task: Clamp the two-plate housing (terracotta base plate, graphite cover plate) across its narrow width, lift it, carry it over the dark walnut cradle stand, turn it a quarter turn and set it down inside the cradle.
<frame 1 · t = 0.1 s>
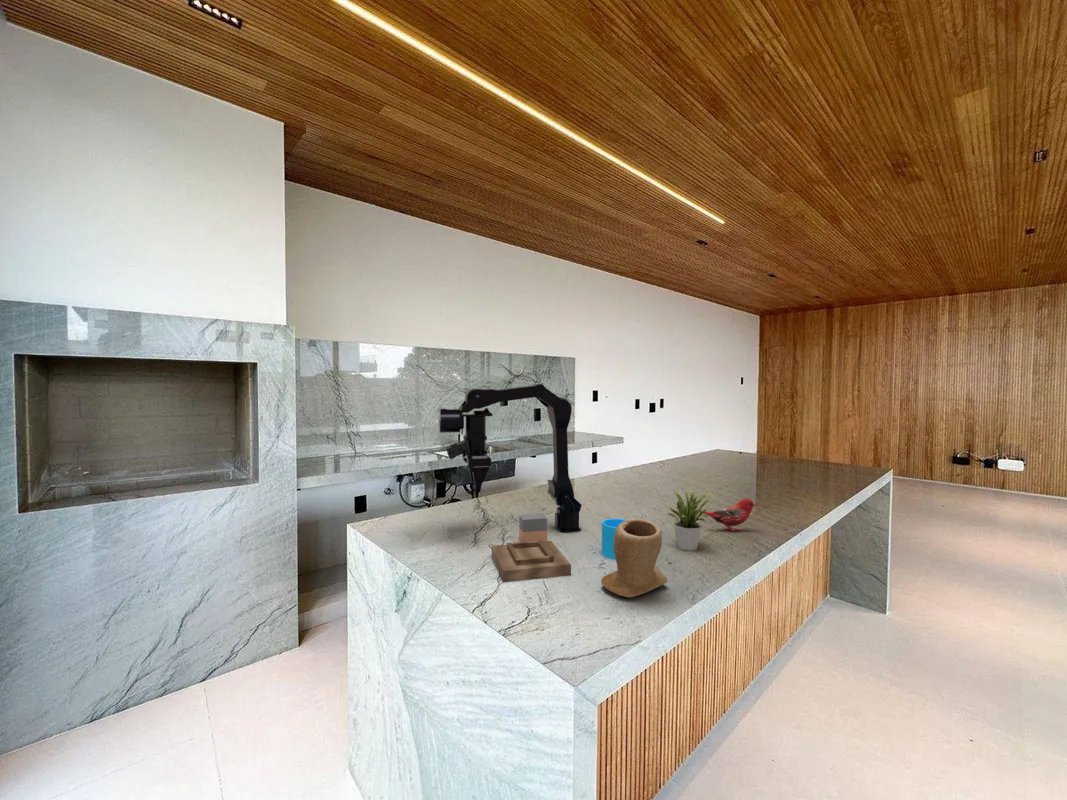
hand: (475, 485, 133), 15 cm above the table, fingers open, 9 cm apart
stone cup: (637, 589, 101), on the table
house plant: (692, 548, 126), on the table
decorative bird figurine: (725, 531, 140), on the table
walnut cradle stand: (529, 564, 113), on the table
housing: (532, 541, 130), on the table
mug: (623, 553, 122), on the table
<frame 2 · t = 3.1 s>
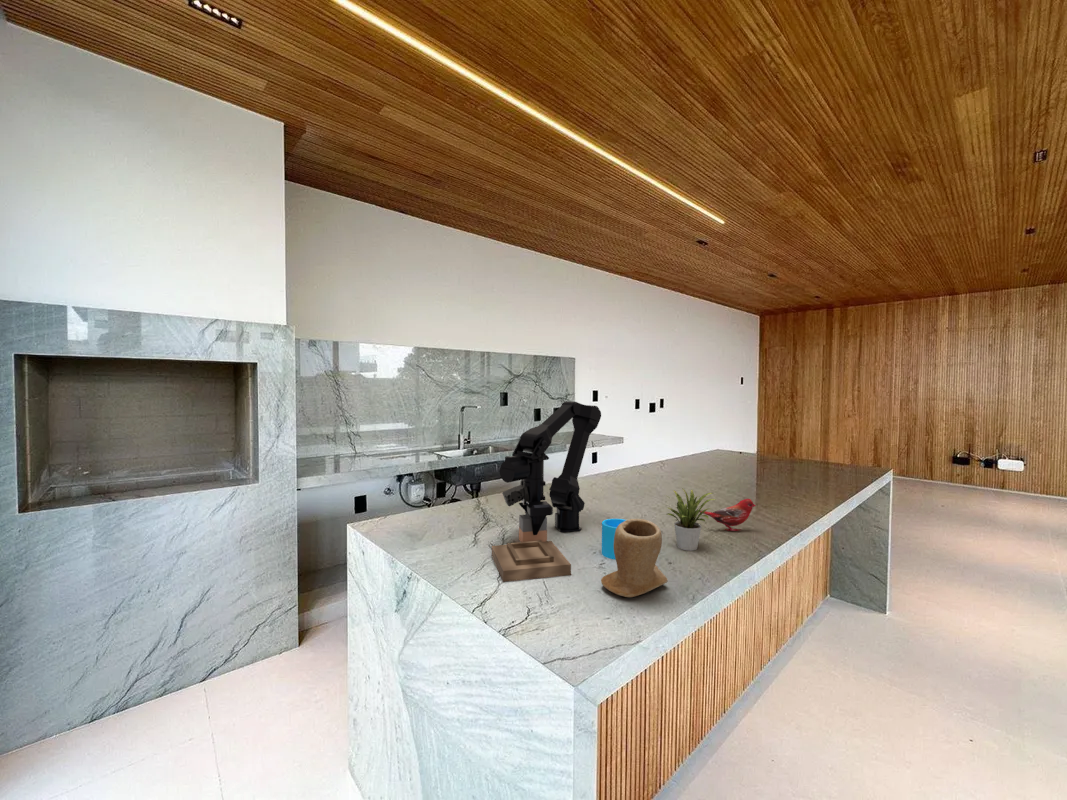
hand: (532, 532, 130), 3 cm above the table, fingers closed on housing, 4 cm apart
housing: (532, 540, 130), on the table, touching gripper
everything else where it was.
when the fingers open (6 cm above the table, at t = 8.0 s): housing drops 1 cm, resting on walnut cradle stand.
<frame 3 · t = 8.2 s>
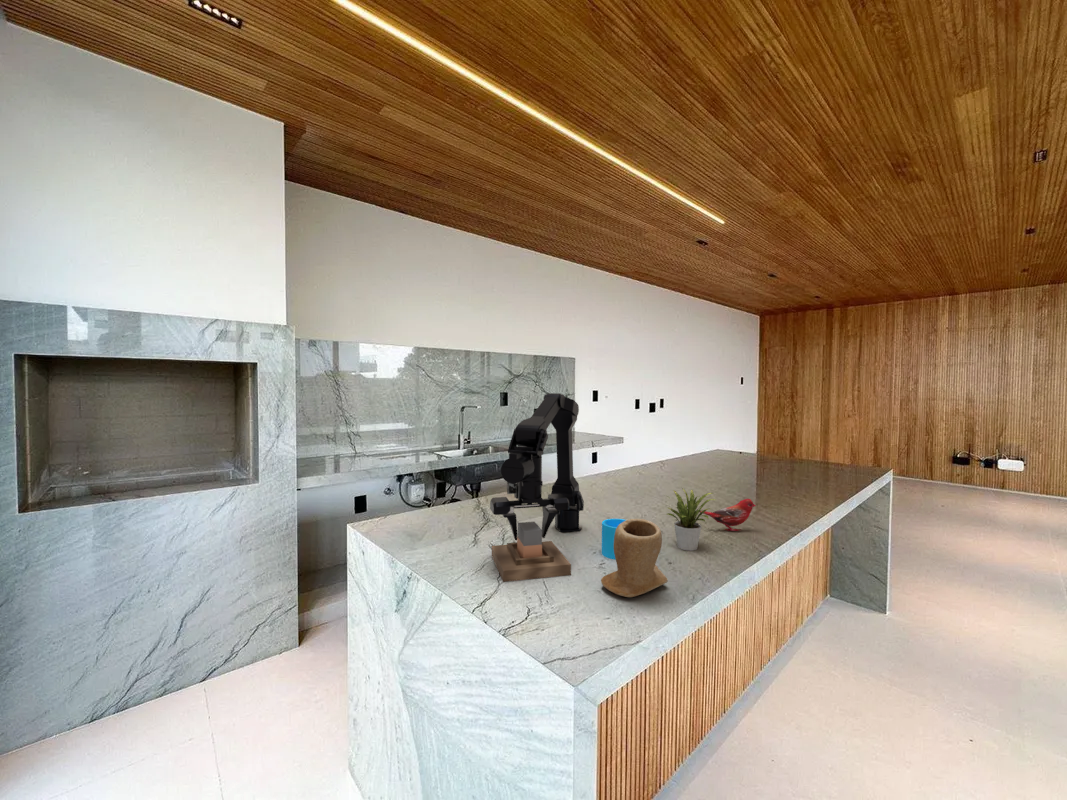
hand: (529, 538, 113), 6 cm above the table, fingers open, 7 cm apart
housing: (529, 554, 113), point 2 cm above the table, touching walnut cradle stand
everything else where it was.
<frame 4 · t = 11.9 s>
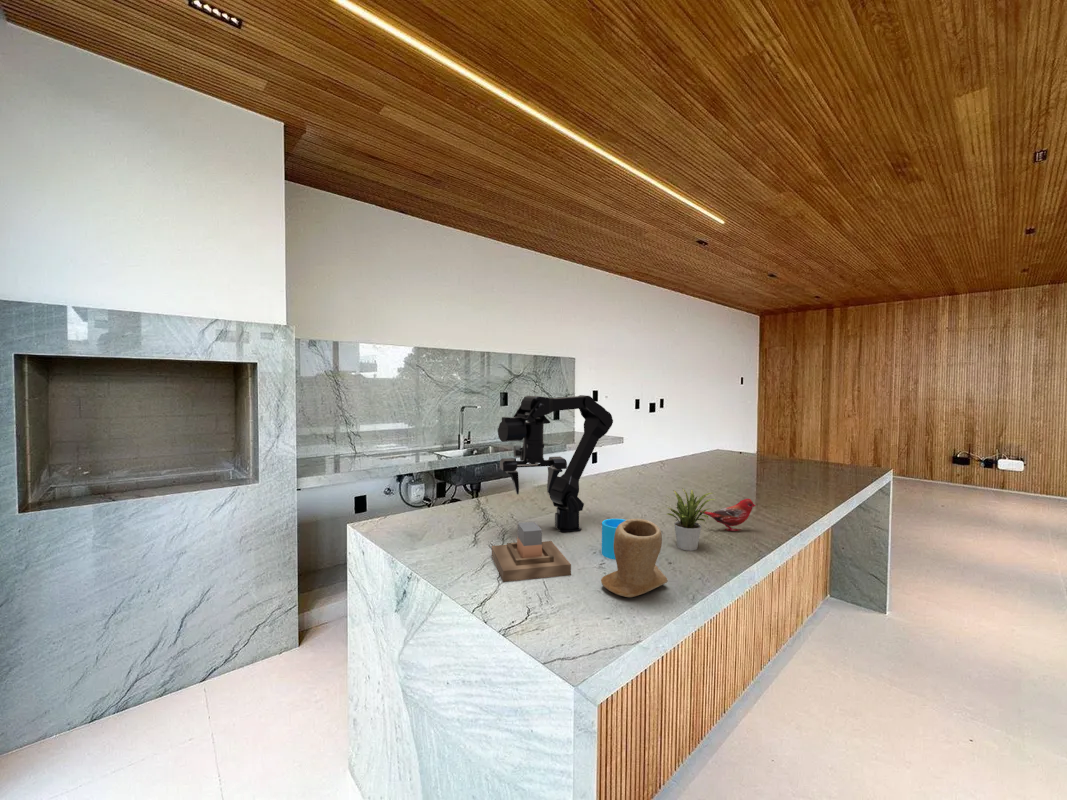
hand: (533, 493, 134), 13 cm above the table, fingers open, 9 cm apart
nothing on the table moved.
at the end: housing 0.1 cm off-centre on the walnut cradle stand, point 2.5 cm above the walnut cradle stand's base; housing tilted 0°; the gripper is holding nothing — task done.
